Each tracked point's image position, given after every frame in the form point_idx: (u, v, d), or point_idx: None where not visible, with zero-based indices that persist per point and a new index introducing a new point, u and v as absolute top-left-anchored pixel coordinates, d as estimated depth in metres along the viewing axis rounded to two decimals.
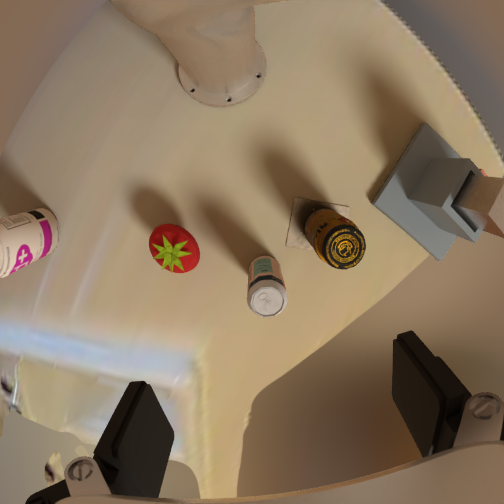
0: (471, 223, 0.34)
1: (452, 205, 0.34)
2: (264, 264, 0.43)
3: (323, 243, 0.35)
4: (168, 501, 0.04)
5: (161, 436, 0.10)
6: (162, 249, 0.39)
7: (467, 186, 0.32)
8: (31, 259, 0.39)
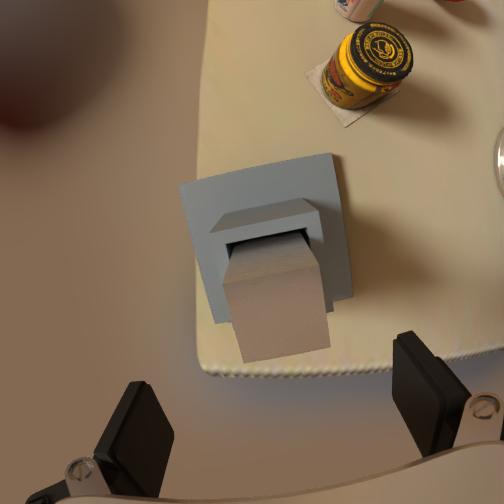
0: (247, 246, 0.23)
1: (297, 233, 0.23)
2: (380, 3, 0.23)
3: (405, 39, 0.18)
4: (168, 501, 0.04)
5: (161, 436, 0.10)
6: None
7: None
8: None
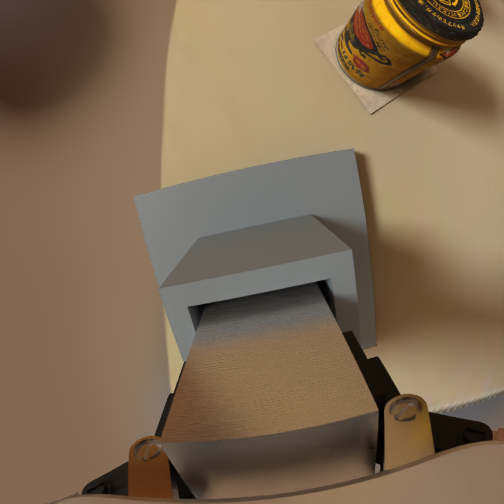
0: (226, 312, 0.13)
1: (313, 287, 0.13)
2: None
3: None
4: (168, 501, 0.04)
5: None
6: None
7: None
8: None
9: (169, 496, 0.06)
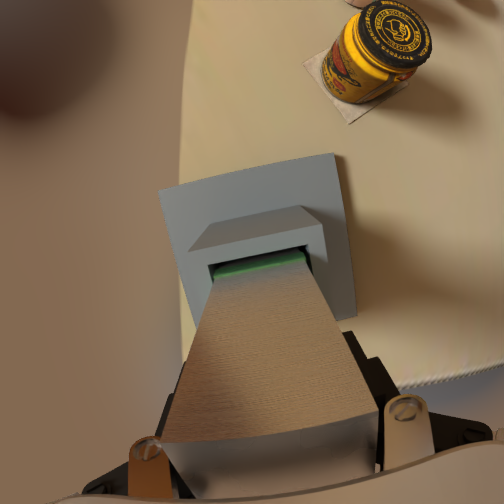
0: (226, 312, 0.13)
1: (312, 287, 0.13)
2: None
3: None
4: (168, 501, 0.04)
5: None
6: None
7: None
8: None
9: (169, 496, 0.06)
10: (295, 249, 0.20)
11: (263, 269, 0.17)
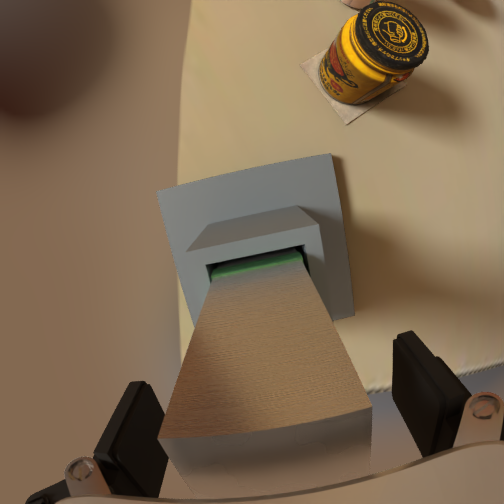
0: (223, 311, 0.13)
1: (309, 286, 0.14)
2: None
3: (419, 22, 0.15)
4: (168, 501, 0.04)
5: None
6: None
7: None
8: None
9: None
10: (292, 249, 0.20)
11: (260, 269, 0.17)
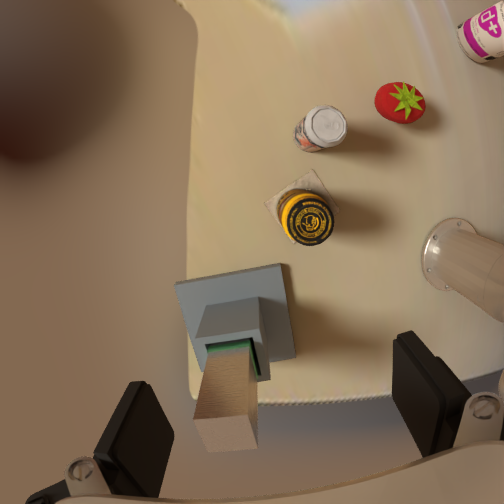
0: (212, 374, 0.32)
1: (246, 365, 0.33)
2: None
3: (330, 209, 0.34)
4: (168, 501, 0.04)
5: (161, 436, 0.10)
6: (415, 99, 0.33)
7: (254, 393, 0.32)
8: (480, 24, 0.29)
9: None
10: None
11: (230, 350, 0.36)
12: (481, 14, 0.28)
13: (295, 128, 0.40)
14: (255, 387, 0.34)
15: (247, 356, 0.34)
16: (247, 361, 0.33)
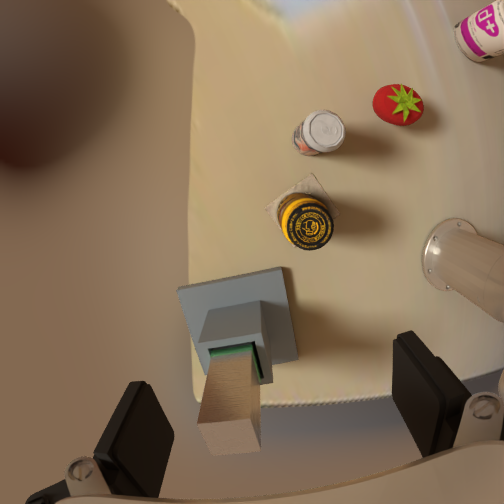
0: (215, 379, 0.32)
1: (249, 370, 0.33)
2: None
3: (329, 214, 0.34)
4: (168, 501, 0.04)
5: (161, 436, 0.10)
6: (413, 101, 0.33)
7: (257, 396, 0.33)
8: (477, 23, 0.29)
9: None
10: None
11: (232, 354, 0.37)
12: (478, 13, 0.28)
13: (294, 132, 0.41)
14: (258, 390, 0.35)
15: (249, 360, 0.35)
16: (249, 365, 0.34)
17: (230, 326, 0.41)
